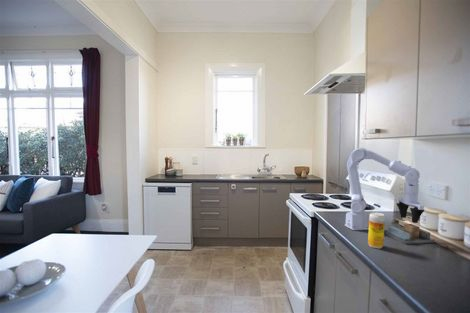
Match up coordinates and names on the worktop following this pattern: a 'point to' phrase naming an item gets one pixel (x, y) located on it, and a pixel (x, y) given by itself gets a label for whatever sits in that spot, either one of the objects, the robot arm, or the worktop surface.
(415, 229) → the block
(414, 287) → the worktop surface
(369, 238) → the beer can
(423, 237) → the vise
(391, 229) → the sliding jaw
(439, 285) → the worktop surface
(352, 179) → the robot arm
